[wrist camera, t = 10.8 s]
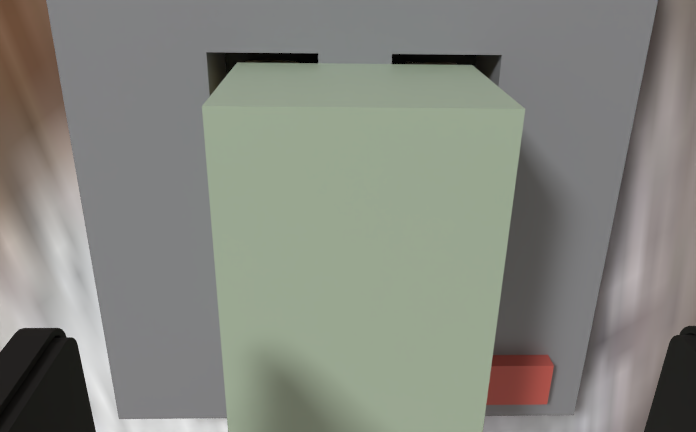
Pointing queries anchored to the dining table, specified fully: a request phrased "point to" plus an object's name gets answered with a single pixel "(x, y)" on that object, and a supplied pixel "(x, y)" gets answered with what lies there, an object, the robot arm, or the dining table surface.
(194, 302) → the socket plate
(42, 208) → the dining table surface
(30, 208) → the dining table surface
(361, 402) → the plug
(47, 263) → the dining table surface
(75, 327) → the dining table surface
